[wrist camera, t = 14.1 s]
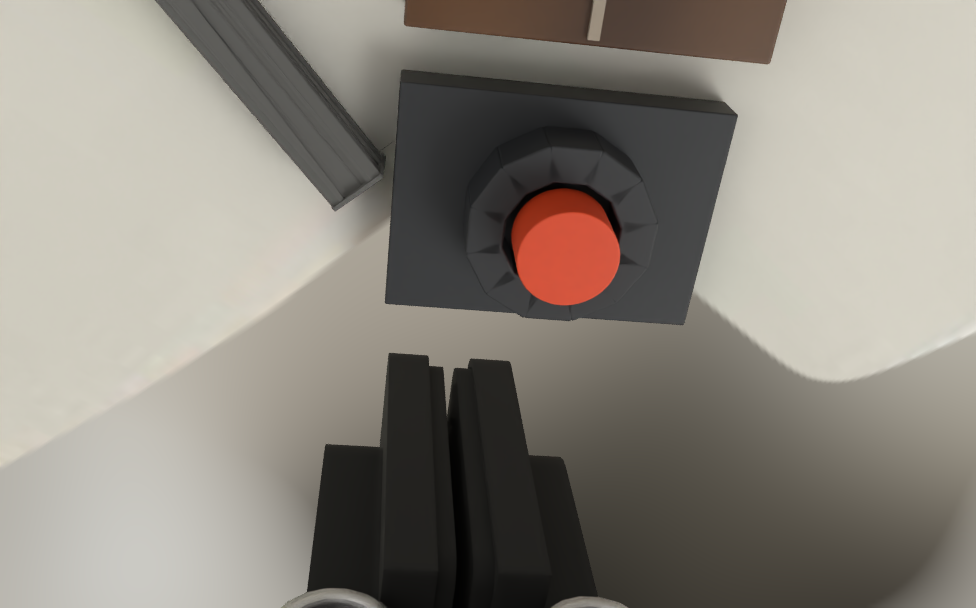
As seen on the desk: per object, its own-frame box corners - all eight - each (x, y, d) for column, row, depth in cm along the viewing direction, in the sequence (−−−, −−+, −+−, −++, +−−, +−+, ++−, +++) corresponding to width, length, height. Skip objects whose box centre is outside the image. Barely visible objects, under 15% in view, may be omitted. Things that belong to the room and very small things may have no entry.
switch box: (386, 284, 33) (382, 333, 30) (401, 69, 29) (398, 99, 26) (674, 306, 34) (698, 354, 31) (725, 101, 30) (758, 134, 27)
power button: (505, 273, 29) (510, 302, 28) (517, 183, 28) (523, 207, 26) (599, 280, 30) (610, 309, 28) (617, 192, 28) (629, 216, 27)
